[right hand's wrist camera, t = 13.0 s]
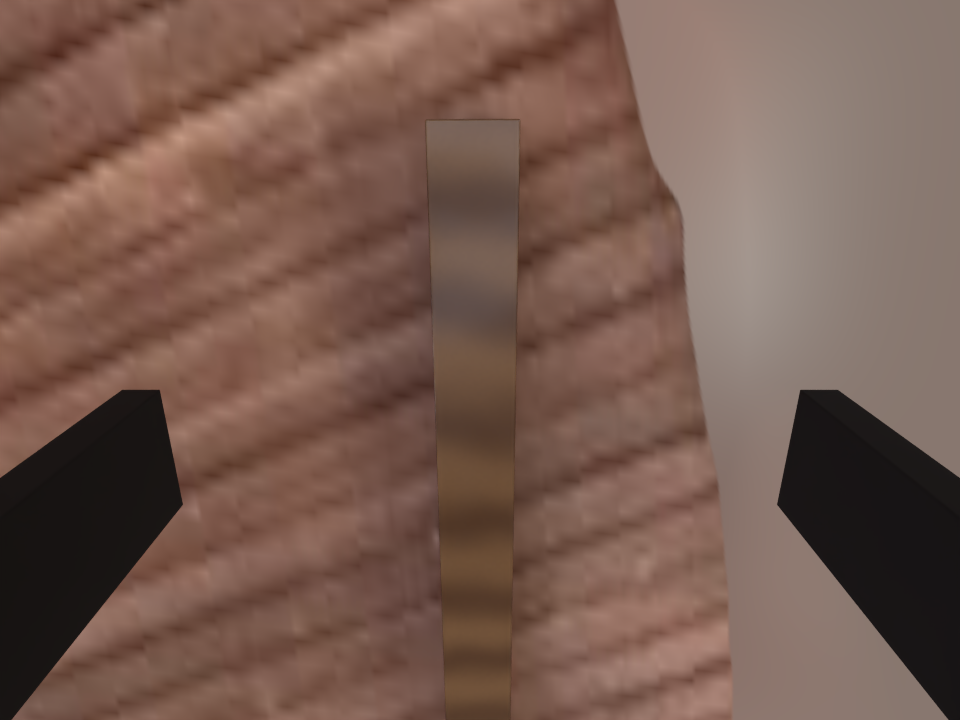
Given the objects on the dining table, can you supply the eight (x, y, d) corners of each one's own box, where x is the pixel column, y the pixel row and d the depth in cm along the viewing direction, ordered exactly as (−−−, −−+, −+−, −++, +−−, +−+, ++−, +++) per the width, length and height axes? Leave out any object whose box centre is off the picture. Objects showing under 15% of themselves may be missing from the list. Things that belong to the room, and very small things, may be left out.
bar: (436, 122, 37) (425, 119, 30) (512, 121, 37) (520, 119, 30) (454, 775, 58) (450, 872, 50) (504, 775, 58) (507, 871, 50)
